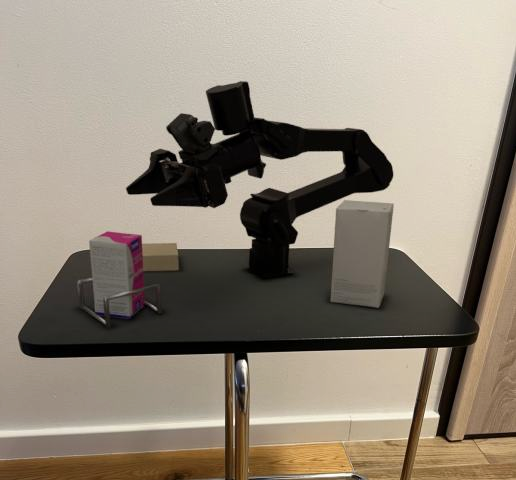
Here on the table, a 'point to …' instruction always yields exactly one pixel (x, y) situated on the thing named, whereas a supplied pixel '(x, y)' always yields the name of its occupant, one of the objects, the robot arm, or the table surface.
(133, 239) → the supplement box
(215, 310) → the table surface
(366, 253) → the cosmetic box
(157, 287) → the rack
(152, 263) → the ledge
